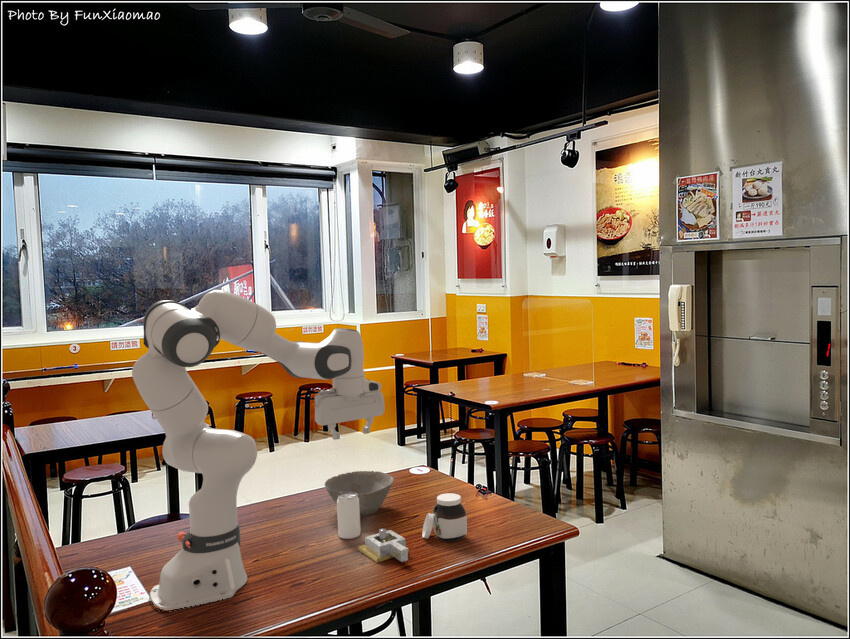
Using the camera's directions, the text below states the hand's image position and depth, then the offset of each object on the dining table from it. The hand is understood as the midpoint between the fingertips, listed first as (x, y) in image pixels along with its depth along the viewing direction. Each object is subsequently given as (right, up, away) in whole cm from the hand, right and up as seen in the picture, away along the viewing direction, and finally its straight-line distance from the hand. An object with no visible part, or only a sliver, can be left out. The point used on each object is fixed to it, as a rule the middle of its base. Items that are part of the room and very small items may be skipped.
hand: (351, 436), depth 175 cm
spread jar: (+26, -30, +5) cm, 40 cm away
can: (-2, -31, +9) cm, 32 cm away
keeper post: (+9, -31, -3) cm, 32 cm away
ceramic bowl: (0, -30, +29) cm, 41 cm away
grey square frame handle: (+11, -30, -6) cm, 33 cm away
